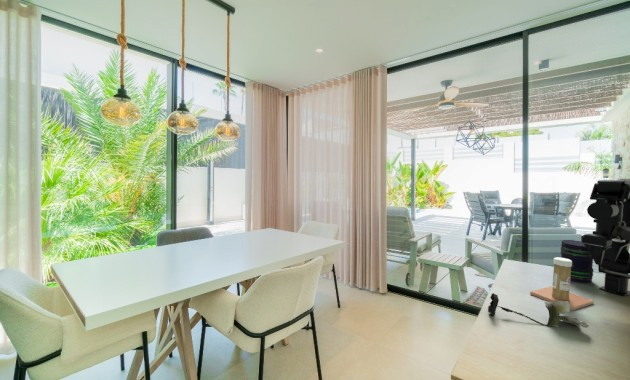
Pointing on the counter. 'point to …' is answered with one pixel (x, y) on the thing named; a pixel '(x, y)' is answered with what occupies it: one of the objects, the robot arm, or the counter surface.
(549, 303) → the artificial flower
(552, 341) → the counter surface
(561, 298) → the sprinkles bottle
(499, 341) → the counter surface
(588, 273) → the storage jar
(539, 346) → the counter surface
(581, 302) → the terracotta tile
